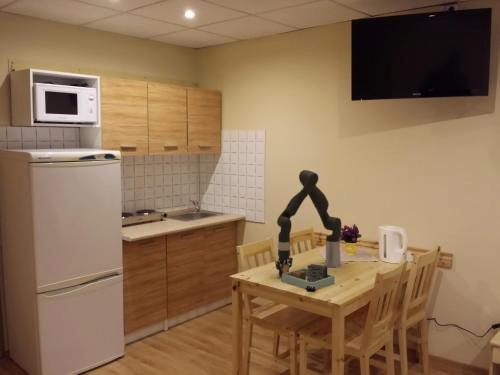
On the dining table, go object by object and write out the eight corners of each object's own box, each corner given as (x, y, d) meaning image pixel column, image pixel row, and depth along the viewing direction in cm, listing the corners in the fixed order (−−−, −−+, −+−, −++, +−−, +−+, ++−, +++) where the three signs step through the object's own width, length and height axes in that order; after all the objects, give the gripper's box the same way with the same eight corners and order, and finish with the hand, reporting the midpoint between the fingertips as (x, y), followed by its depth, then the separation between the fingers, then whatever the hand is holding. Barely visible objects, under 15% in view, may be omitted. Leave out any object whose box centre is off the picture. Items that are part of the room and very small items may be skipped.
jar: (283, 274, 292) (283, 263, 292) (289, 276, 289) (289, 264, 288) (278, 276, 289) (278, 264, 288) (284, 278, 286) (284, 266, 285)
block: (298, 279, 283) (298, 269, 283) (305, 281, 279) (305, 272, 278) (291, 281, 279) (291, 271, 279) (298, 283, 275) (299, 273, 274)
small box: (327, 282, 276) (328, 265, 275) (323, 285, 270) (324, 268, 269) (311, 280, 281) (311, 263, 280) (307, 283, 276) (307, 265, 275)
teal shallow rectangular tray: (304, 274, 292) (304, 267, 292) (334, 283, 275) (334, 276, 274) (281, 281, 279) (281, 274, 279) (312, 290, 261) (312, 283, 261)
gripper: (280, 251, 280) (280, 279, 281) (296, 247, 289) (296, 274, 291) (271, 249, 285) (271, 276, 287) (287, 245, 295) (287, 271, 296)
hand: (283, 275), depth 289 cm, fingers closed on jar, 4 cm apart
